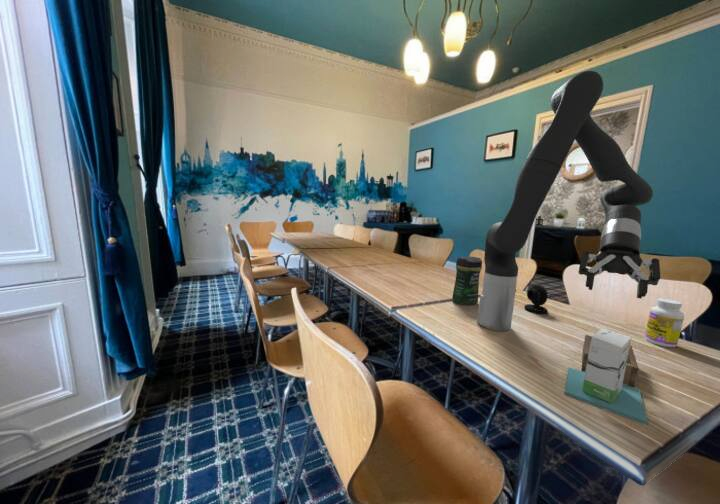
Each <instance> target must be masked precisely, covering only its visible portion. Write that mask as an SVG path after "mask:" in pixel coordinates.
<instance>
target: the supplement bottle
mask: <svg viewBox="0 0 720 504" xmlns="http://www.w3.org/2000/svg"><path fill="white" fill-rule="evenodd" d="M656 303H657V305H656V306H652V307H651V308H650V311H649V315H648V320H647V324H646V328H645V333H644V339H645V340H646V341H647V342H650V343H652V344H654V345H657V346H660V347H664V348H665V347H666V348H676V347H677V346H678V344H679V339H680V336H681V331H682V327H683V324H684V321H685V313H684V312H682V311H680V309H681V308H682V305H683V304H682V302H681V301H677V300H674V299H668V298H661V297H660V298H657V301H656Z"/></svg>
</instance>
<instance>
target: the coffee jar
mask: <svg viewBox="0 0 720 504" xmlns="http://www.w3.org/2000/svg"><path fill="white" fill-rule="evenodd" d="M455 268H456V270H455V271H456V274H455V281H454V286H453V291H452V298H451V299H452V301H453V302H454V303H456V304H461V305H463V306H467V305H475V304H478V302H479V289H480V288H479V287H480V286H479V285H480V274H481V272H482V268H483V260H482V258H480V257H476V256H459V257H458V258H456V262H455Z"/></svg>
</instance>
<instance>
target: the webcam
mask: <svg viewBox="0 0 720 504" xmlns="http://www.w3.org/2000/svg"><path fill="white" fill-rule="evenodd" d="M526 297H527V299H528V300H530V302H531V304H525V305H524V307H523V308H524V309H525V310H526V311H527V312H528V313H533V314H538V315H544V314H545V315H546V314H547V313H548V312H549V311H548V308H547V307H545V306H543V305H544V304H545V303H547V301H548V292H547V289H546V288H545V287H544V286H542V285H541V284H533V285H532V286H531V287H530V288H529V289H528V290H527V292H526Z"/></svg>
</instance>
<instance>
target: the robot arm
mask: <svg viewBox="0 0 720 504" xmlns="http://www.w3.org/2000/svg"><path fill="white" fill-rule="evenodd" d="M603 90H604V80H603V78H602V75H601V74H599V73H598V72H597V71H594V70H586V71H585V70H584V71H582V72H580V73H577V74H576V75H574V76H572V77H571V78H569V79H568V80H567V81H565V82H564V83H563V84H562V85H560V87H558V88H557V89H556V90H555V91H554V93H553V94H552V96H551V98H550V107H551V110H552V112H553V113H554V114H555V115H554V117H553V119H552V121H551V123H550V125H549V126H548V127H547V129H546V130H545V131H544V133H543V134H542V135H541V136H540V138H539V139H538V140H537V141H536V143H535V144H534V146H533V147H532V149H531V150H530V151H529V153H528V155H527V157H526V159H525V161H524V162H523V165H522V167H521V168H520V170H519V171H520V172H519V173H518V176H517V178H516V183H515V188H514V189H515V190H514V194H513V195H514V196H513V199H512V204H511V205H510V208H509V210H508V212H507V214H506V215H505V217H504V219H503V220H502V221H499V222H496V223H493V224H492V225H491V226H490V227H489V228H488V230H487V233H486V237H485V245H484V257H483V258H484V262H483V263H484V275H483V276H484V278H483V285H482V294H480V296H479V301H478V302H479V304H478V312H477V322H476V323H477V324H478V325H480V326H482V327H484V328H486V329H489V330H493V331H499V332H505V331H510V330H511V328H512V321H513V313H514V305H515V299H516V298H515V297H516V292H517V291H516V290H517V289H516V288H517V283H518V276H519V265H518V264H517V261H516V260H517V259H516V254H517V253H518V252H520V251H521V250H522V249H523V247H525V244H526V242H527V240H528V238H529V235H530V234H531V230H532V227H533V225H534V222H535V219H536V217H537V214H538V212H539V211H540V208H541V207H542V205H543V204H544V202H545V199H546V198H547V196H548V194H549V192H550V189H551V188H552V186H553V185H554V182H555V181H556V179H557V176H558V175H559V173H560V172H561V169H562V167H563V165H564V163H565V161H566V158H567V156H568V154H569V152H571V151H570V150H571V148H572V146H573V145H574V143H575V141H576V143H577V144H578V146H579V147H580V149H581V151H582V152H583V153H584V156H585V157H586V159H587V161H588V163H589V165H590V167H591V169H592V171H593V173H594V174H595V177H596V178H597V179H598V181H599V182H603V183H605V182H606V183H607V182H611V181H613V182H614V181H620V182H622V184H619V185H616V186H613V187H610V188H607V189H605V190H604V191H603V192H602V193H601V194H600V203H601V206H602V207H603V211H604V216H605V218H604V225H603V229H602V231H601V236H600V241H599V242H600V245H599V249H598V253H597V254H592V253H590V251H588V250H585V251H583V253H582V256H581V259H580V263H579V268H578V274H579V275H584V276H586V280H585V287H586V288H588V290H590V291H593V288H594V283H595V282H594V281H595V277H596V276H598V275H601V274H602V273H604V272H607V273H609V274H618V275H627V276H629V277H630V279H631V280H635V282H636V283H638V284H637V287H636V289H637V290H636V298H637V299H642V298H645V297H646V296H647V293H648V291H649V290H648V289H649V285H651V286H657V285H658V284H659V282H660V280H661V266H660V260H659V258H654V257H653V258H652V259H650V260H649V259H642V258H641V245H642V244H641V243H642V229H641V225H642V213H641V210H640V209H639V207H640V206H643V205H645V204H647V203H649V202H651V200H652V198H653V195H654V191H653V188H652V186H651V185H650V184H649V183H648V182H647V181H646V180H645V179H644V178H643V177H641V176H640V175H639V173H637V172H636V171H635V169H633V168H632V167H631V165H630V164H629V162H628V160H627V158H626V156H625V155H624V152H623V150H622V149H621V147H620V145H619V144H618V143H617V141H616V140H615V139H614V138H613V137H612V136H610V135H609V133H607V132H605V130H603V129H602V128H601V127H600V126H598V124H597V123H596V121H595V120H594V119H593V117H592V115H591V112H592V111H593V109H594V108H595V107H596V105H597V103H598V102H599V99H600V98H601V96H602V92H603ZM593 260H594V261H595V262H596V263H595V264H594V265H593V266H591V267H590V268H588V267H587V265H588V264H589V263H591V262H592V261H593ZM642 266H643V267H644V268H645V270H647V271H649V276H648V275H647V274H646V273H644V272H643V269H642V268H641V267H642Z"/></svg>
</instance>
